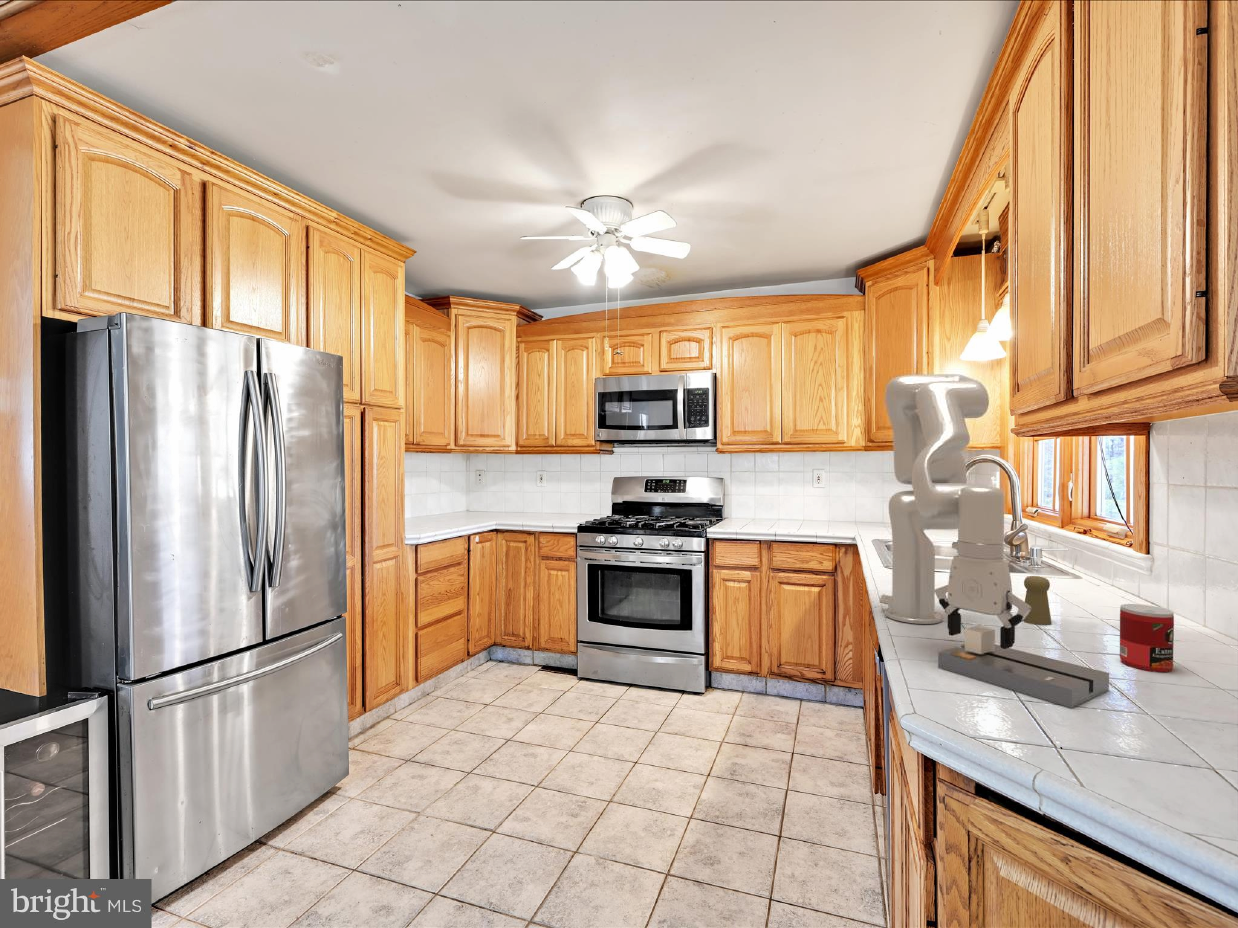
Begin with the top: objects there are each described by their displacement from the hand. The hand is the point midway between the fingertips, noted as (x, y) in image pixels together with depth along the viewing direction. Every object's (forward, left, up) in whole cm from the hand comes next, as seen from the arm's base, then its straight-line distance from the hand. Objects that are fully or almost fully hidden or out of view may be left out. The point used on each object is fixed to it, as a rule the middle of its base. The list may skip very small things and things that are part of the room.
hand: (979, 640), depth 117 cm
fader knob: (0, 0, -4) cm, 4 cm away
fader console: (+7, 0, -5) cm, 9 cm away
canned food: (+16, +28, -5) cm, 33 cm away
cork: (-10, +44, -5) cm, 45 cm away
